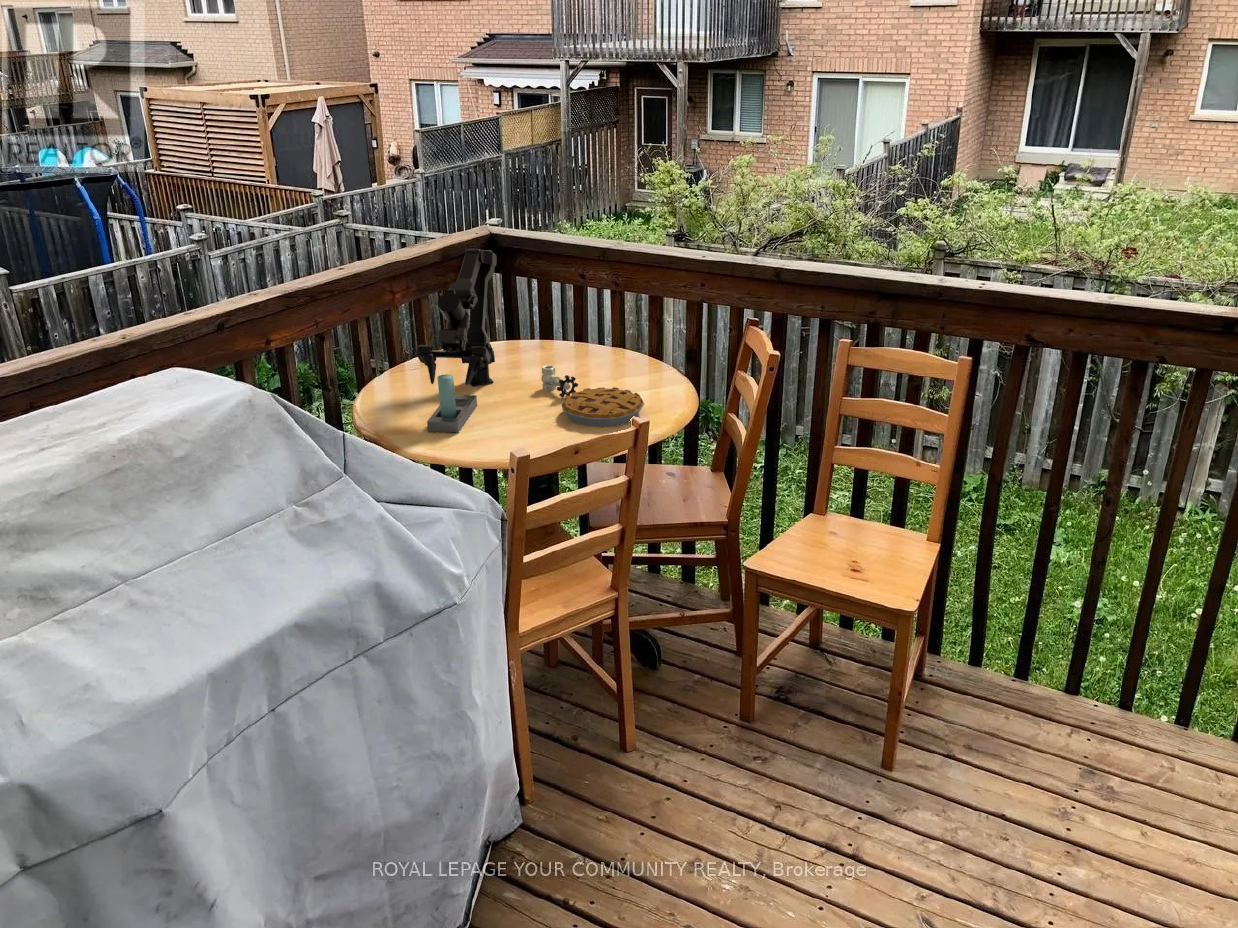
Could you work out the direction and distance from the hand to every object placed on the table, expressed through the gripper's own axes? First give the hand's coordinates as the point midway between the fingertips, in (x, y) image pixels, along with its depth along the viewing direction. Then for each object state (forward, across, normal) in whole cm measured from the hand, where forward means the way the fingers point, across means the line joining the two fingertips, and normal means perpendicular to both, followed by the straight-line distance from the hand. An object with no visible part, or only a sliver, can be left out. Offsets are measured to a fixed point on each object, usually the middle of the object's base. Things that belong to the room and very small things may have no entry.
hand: (449, 384), depth 259 cm
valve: (-9, +24, +24) cm, 35 cm away
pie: (+2, +39, +13) cm, 41 cm away
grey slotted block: (+6, 0, +8) cm, 10 cm away
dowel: (+9, 0, +5) cm, 10 cm away
